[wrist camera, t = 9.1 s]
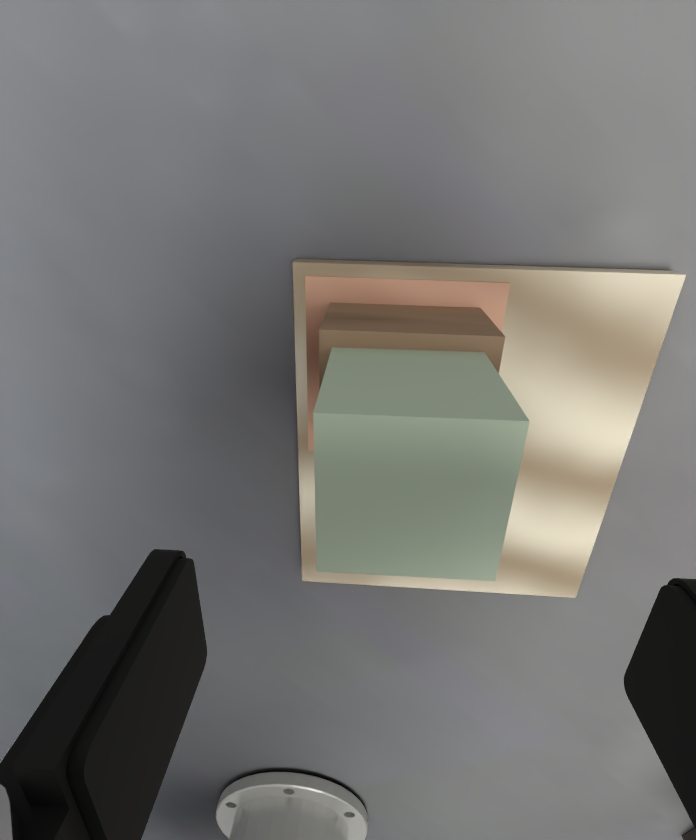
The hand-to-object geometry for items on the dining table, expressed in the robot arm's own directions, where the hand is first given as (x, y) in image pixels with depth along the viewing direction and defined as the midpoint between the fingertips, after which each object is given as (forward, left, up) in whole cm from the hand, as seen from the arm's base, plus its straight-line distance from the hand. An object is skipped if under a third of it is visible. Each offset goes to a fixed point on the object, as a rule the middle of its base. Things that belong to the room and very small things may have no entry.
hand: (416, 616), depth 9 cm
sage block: (+1, 0, -8) cm, 8 cm away
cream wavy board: (-3, -3, -13) cm, 14 cm away
